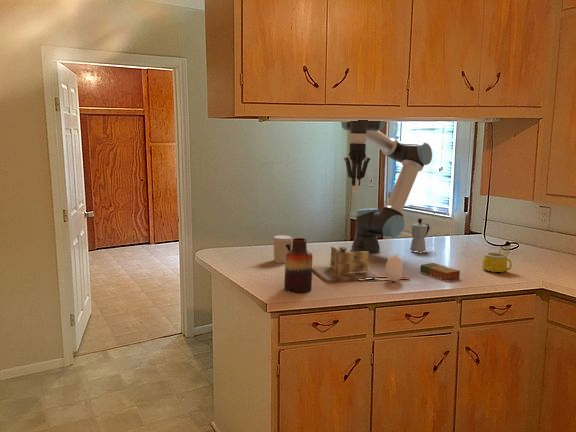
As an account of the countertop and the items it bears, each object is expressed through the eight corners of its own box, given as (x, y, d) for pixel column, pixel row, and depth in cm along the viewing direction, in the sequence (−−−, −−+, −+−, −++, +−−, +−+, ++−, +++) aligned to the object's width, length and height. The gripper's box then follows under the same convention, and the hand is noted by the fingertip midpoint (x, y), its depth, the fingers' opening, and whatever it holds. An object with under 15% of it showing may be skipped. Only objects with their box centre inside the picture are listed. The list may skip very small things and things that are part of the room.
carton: (446, 282, 221) (446, 272, 220) (419, 273, 235) (420, 264, 234) (459, 279, 225) (460, 270, 224) (432, 270, 239) (433, 262, 238)
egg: (389, 284, 214) (390, 257, 212) (381, 279, 221) (383, 253, 219) (405, 283, 215) (407, 256, 213) (397, 278, 222) (399, 252, 221)
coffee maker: (417, 254, 272) (419, 220, 269) (404, 250, 278) (406, 218, 275) (433, 250, 281) (436, 218, 278) (420, 247, 288) (422, 216, 285)
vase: (279, 287, 205) (280, 238, 201) (300, 283, 211) (302, 235, 208) (294, 294, 196) (296, 243, 193) (316, 290, 202) (318, 240, 199)
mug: (481, 272, 238) (483, 246, 237) (482, 266, 248) (484, 242, 246) (510, 275, 233) (513, 250, 231) (511, 270, 243) (513, 245, 241)
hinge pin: (343, 270, 226) (344, 246, 224) (346, 272, 223) (347, 248, 221) (337, 270, 225) (338, 247, 223) (339, 272, 222) (341, 248, 220)
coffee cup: (289, 264, 242) (290, 239, 240) (270, 262, 244) (271, 238, 242) (293, 259, 251) (294, 235, 249) (274, 258, 253) (275, 234, 251)
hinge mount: (358, 267, 240) (359, 244, 238) (378, 279, 221) (380, 254, 219) (310, 270, 233) (311, 246, 231) (327, 282, 213) (328, 256, 212)
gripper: (366, 143, 245) (364, 191, 249) (342, 142, 242) (339, 191, 245) (374, 143, 238) (371, 193, 242) (348, 142, 235) (346, 193, 238)
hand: (355, 192), depth 244 cm, fingers closed
